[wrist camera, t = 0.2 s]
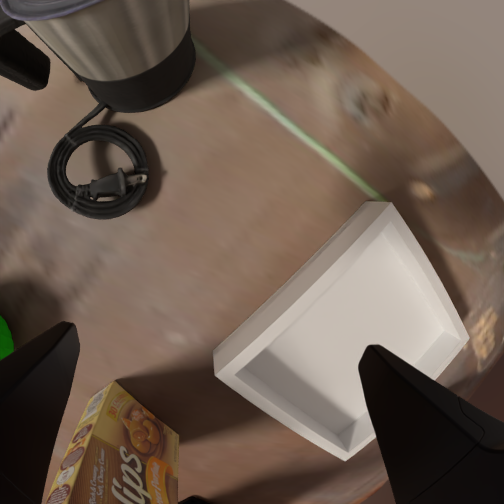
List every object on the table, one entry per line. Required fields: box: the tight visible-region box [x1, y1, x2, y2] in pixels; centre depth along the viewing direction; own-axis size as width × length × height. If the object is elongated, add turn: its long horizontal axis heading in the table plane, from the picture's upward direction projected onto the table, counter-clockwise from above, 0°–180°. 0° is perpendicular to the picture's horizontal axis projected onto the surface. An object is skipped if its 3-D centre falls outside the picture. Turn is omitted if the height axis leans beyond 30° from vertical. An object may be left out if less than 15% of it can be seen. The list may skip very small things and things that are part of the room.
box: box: [213, 201, 469, 461], centre depth 25 cm, size 18×18×4 cm
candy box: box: [46, 381, 179, 504], centre depth 17 cm, size 9×4×15 cm, turn 39°
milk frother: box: [0, 0, 196, 219], centre depth 13 cm, size 14×16×15 cm
